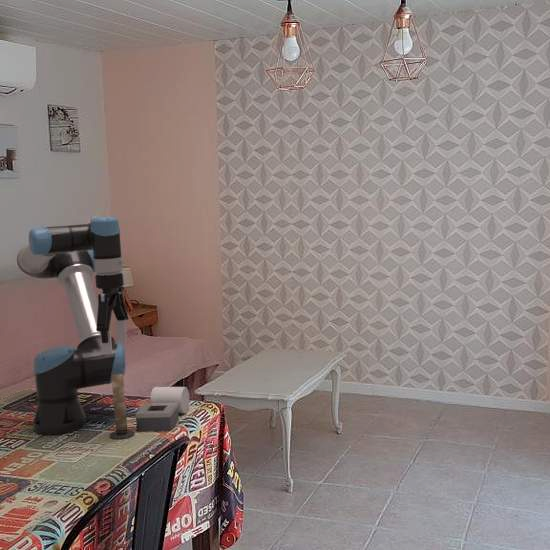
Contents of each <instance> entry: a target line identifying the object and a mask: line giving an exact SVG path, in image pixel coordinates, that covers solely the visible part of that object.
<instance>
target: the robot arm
mask: <svg viewBox="0 0 550 550" xmlns="http://www.w3.org/2000/svg"><path fill="white" fill-rule="evenodd" d="M16 263H17V267H18V268H19V270H20V271H21V272H23V274H26V275H27V276H30V277H32V278H35V279H55V278H57V281H58V283H59V284H60V285H61V286H63V287H64V288H65V292H66V296H67V300H68V303H69V306H70V310H71V315H72V318H73V321H74V325H75V329H76V332H77V335H78V339H79V343H78V344H77V346H76V349H75V348H74V347H73V346H72V345H60V346H54V347H51V348H48V349H45V350H43V351H41V352H39V353H38V354H36V356H35V357H34V358H33V373H34V379H35V380H34V381H35V388H36V389H35V390H36V399H37V405H36V411H35V415H34V418H33V422H32V424H33V425H32V427H33V431H34V433H36V434H39V435H50V436H51V435H60V434H67V433H71V432H74V431H75V432H76V431H78V430H81V429H82V428H83V427H85V426H86V425H87V416H86V413H85V411H84V409H83V406H82V403H81V401H80V399H79V394H78V392H79V391H78V390H79V389H85V388H92V387H98V386H103V385H110V384H111V385H112V375H114V374H123V378H124V376H125V374H126V373H125V372H126V351H125V347H124V345H123V344H127V343H128V340H127V339H128V338H127V337H128V336H127V335H128V334H127V326H126V325H127V324H126V323H127V322H126V320H129V316H128V310H127V305H126V302H125V298H124V294H123V286H124V284H125V283H124V274H123V273H122V272H123V264H124V261H123V260H122V248H121V229H120V223H119V218H117V217H115V216H102V217H101V216H100V217H94V218H91V220H90V222H88V223H86V224H71V225H69V224H68V225H58V226H41V227H34V228H31V229H30V230H29V232H28V243H27V244H26V245H23V247H21V249H19V251H18V253H17V255H16ZM94 273H95V276H94ZM93 277H95V278H94V279H95V287H96V288H97V289H98V290H99V289H100V290H102V293H98V296H97V295H96V292H95V289H94V285H93V282H92V278H93ZM112 312H113V313H112ZM112 314H114V316H115V318H116V320H115V332H116V341H115V338H114V336H112V331H111V329H110V326H111V320H112Z"/></svg>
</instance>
